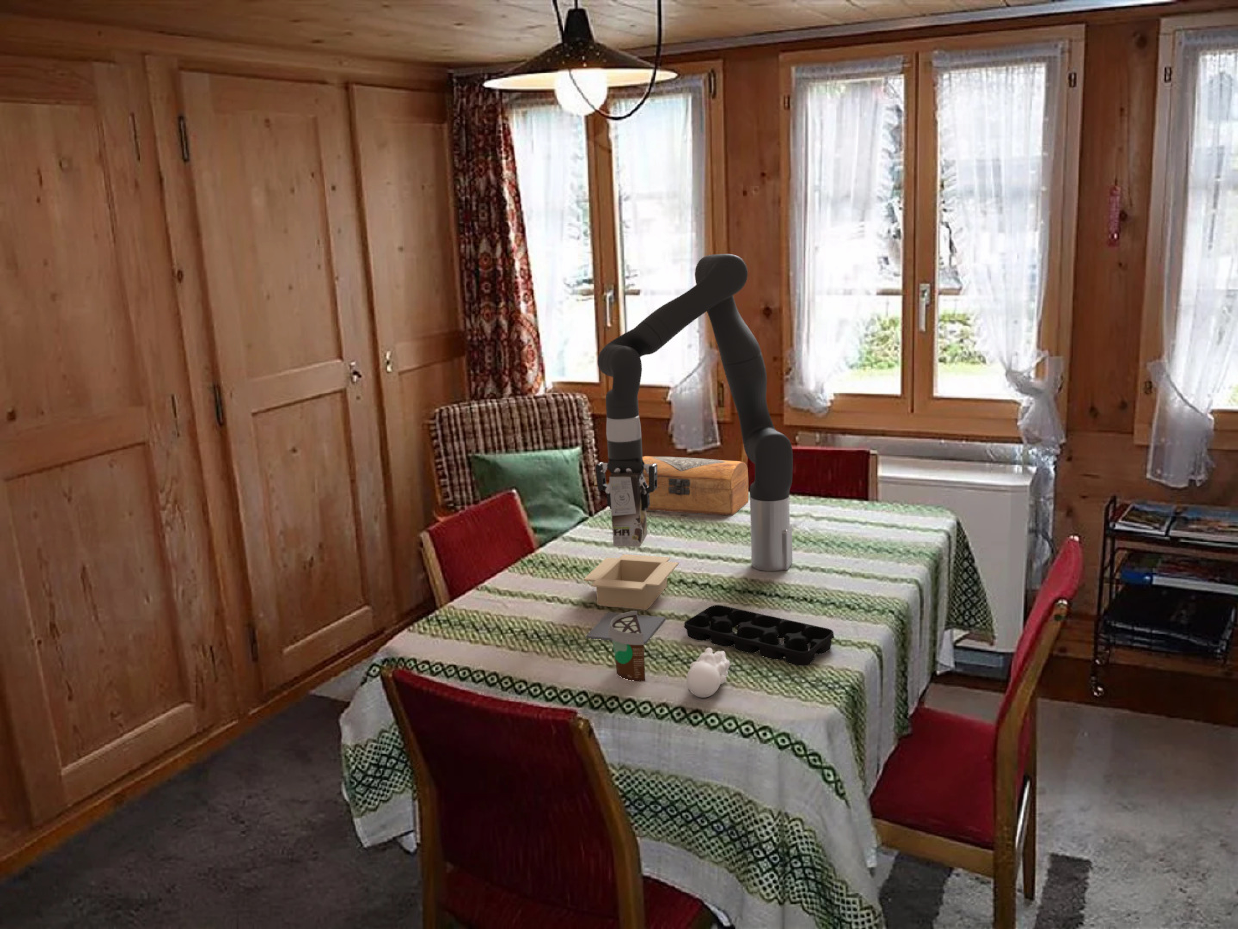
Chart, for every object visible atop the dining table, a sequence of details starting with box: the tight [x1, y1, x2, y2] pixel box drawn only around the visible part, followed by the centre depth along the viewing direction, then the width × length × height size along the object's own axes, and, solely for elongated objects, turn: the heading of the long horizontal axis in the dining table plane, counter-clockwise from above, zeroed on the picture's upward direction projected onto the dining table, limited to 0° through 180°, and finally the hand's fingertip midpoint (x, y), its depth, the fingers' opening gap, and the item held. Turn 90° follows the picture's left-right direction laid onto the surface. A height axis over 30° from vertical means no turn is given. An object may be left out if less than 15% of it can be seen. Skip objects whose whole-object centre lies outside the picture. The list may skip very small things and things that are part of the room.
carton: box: [583, 554, 679, 611], centre depth 243 cm, size 18×21×6 cm
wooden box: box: [642, 455, 749, 516], centre depth 309 cm, size 30×16×14 cm, turn 65°
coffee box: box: [608, 470, 648, 548], centre depth 239 cm, size 9×6×16 cm
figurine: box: [685, 647, 731, 699], centre depth 196 cm, size 7×7×12 cm
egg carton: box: [683, 604, 835, 667], centre depth 215 cm, size 18×30×4 cm, turn 64°
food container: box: [608, 610, 646, 682], centre depth 204 cm, size 12×6×10 cm, turn 5°
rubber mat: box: [585, 611, 666, 645], centre depth 225 cm, size 13×13×1 cm
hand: (628, 509), depth 239 cm, fingers closed on coffee box, 7 cm apart
